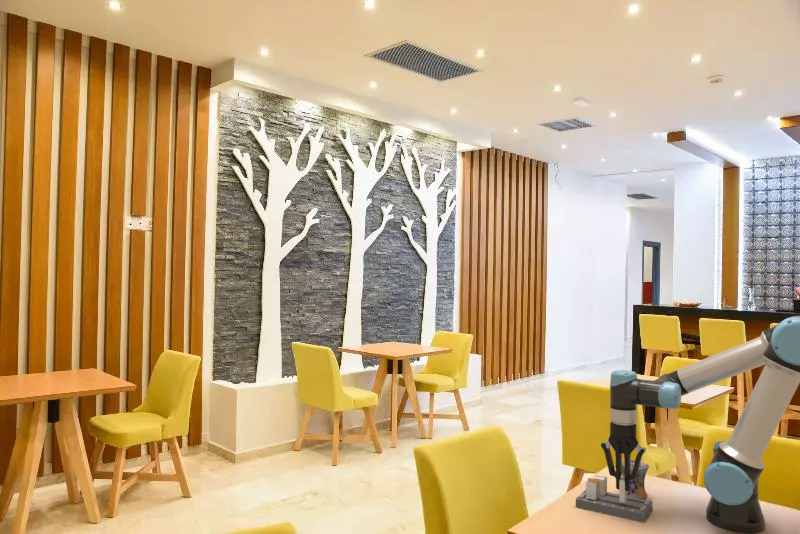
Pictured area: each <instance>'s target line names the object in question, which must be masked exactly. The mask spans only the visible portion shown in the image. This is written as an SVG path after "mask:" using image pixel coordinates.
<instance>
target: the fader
mask: <svg viewBox="0 0 800 534" xmlns="http://www.w3.org/2000/svg"><path fill="white" fill-rule="evenodd" d="M585 483H586V485H585V486H586V487H585V489H586V498H587V499H592V500H597V499H598V497H599V493H600V480H596V479H594V478H590V477H588V478H587V481H586V482H585Z"/></svg>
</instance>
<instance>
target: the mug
mask: <svg viewBox="0 0 800 534" xmlns="http://www.w3.org/2000/svg"><path fill="white" fill-rule="evenodd" d="M634 463H635V459H631V474H632V471H633V467H634ZM649 468H650V465H649V464H648V463H646V462H644V461H641V462H640V466H639V470H638V473H637V477H636V478H635V479H634V480H630V490H629V491H627V496H629V497H634V498H639V499H643V500H646V499H647V497H648V494H647V492H646V488H645V480H646V479H645V478H646V474H647V472H648V470H649ZM621 478H625V459H622V476H621Z"/></svg>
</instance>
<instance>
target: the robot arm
mask: <svg viewBox="0 0 800 534" xmlns="http://www.w3.org/2000/svg"><path fill="white" fill-rule="evenodd" d="M762 366H764V367H763V369H762V371H761V373H760V376H759V378H758V380H757V382H756V384H754V388H753V389H752V392H751V394H750V396H749V398H748V399H747V402H746V404H745V406H744V408H743V410H742V412H741V413H740V416H739V418H738V420H737V423H736V424H735V425H734V428H733V430H732V432H731V434H730V436H729V438H728V440H727V441H726V440H718V441H715V442H714V443H713V448H712V451H713V457H712V458H711V461H710V462H709V465H708V466H707V467H706V468H705V470H704V473H703V482H704V487H705V489H706V490H707V492H708V493H709V495H710V498H709V501H708V504H707V506H706V510H705V518H706V520H707V521H708V522H709V523H711V524H713V525H715V526H717V527H720V528H721V529H726V530H727V531H732V532H739V533H751V534H752V533H760V532H763V531H764V530H765V529H766V520H765V517H764V514H763V510H762V506H761V504H760V501H759V479H760V476H761V475H762V472H763V471H764V469H765V464H764V461H763V459H762V458H763V456H764V454H765V451H766V450H767V448H768V446H769V444H770V442H771V440H772V438H773V436H774V433H775V432H776V430H777V428H778V426H779V425H780V422H781V420H782V419H783V416H784V414H785V412H786V410H787V408H788V407H789V404H790V403H791V401H792V398H793V397H794V394H795V393H796V392H797V391H796V390H797V389H798V386H799V385H800V314H799V315H792V316H788V317H786V318H785V319H783V320H782V321H781V322H779V323H777V324H776V325H774V326H772V327H770V328H767V329H765V330H763V331H762V332H761V334H760V336H757V337H756V338H755V337H754V338H753V339H751V340H748V341H746V342H743V343H740V344H738V345H736V346H733V347H731V348H728V349H725V350H723V351H720V352H719V353H715V354H714V355H711V356H708V357H706V358H703V359H701V360H698V361H696V362H693V363H691V364H689V365H686V366H683V367H681V368H678V369H677V370H674V371H672V372H669V373H664V374H663V375H661V376H659V377H657V379H654V380H649V379H643V378H642V379H640V378H638V376H637V373H636V372H635V371H633V370H624V369H617V370H613V371H612V372H611V374H610V383H609V392H610V393H609V395H610V397H609V400H610V401H609V403H610V406H609V420H610V422H609V437H608V439H607V440H605V441H603V442H602V443H600V447H601V448H602V450H603V451H604V455H605V461H606V464H607V468H608V473H609V475H610V476H611V477H613V478H614V479H615V487H616V488H615V489H616V490H619V493H618V494H619V502H624V503H625V501H626V500H627V491H629V490H630V480H634V479H635V478H636V477H637V473H638V470H639V466H640V462H642V457H643V455H644V454H645V452H646V451H647V448H646V447H644V446H642V445H640V444H639V441H638V438H637V426H638V425H637V419H638V418H637V415H638V414H637V412H638V411H637V410H638V409H637V407H638V406H637V405H639V406H646V407H647V406H648V407H654V408H655V407H656V408H662V409H674V410H676V409H679V408H680V405H681V401H682V397H683V396H686V395H688V394H690V393H692V392H696V391H698V390H701V389H704V388H706V387H709V386H711V385H713V384H717V383H719V382H722V381H725V380H727V379H729V378H733V377H735V376H737V375H738V376H739V375H741V374H744V373H746V372H749V371H751V370H754V369H756V368H759V367H762ZM611 447H612V449H613V451H614V452H615V453H614V454H615V455H614V457H615V464H614V459H613V455H612V452H611V451H612V450H611ZM635 449H636V453H637V454H636V457H635V459H634V460H635V463H634V467H633V471H632V474H631V460H632V459H631V457H632V453H633V451H635ZM623 455H624V456H623ZM622 457H623V458H624V460H625V478H622V460H623V459H622Z"/></svg>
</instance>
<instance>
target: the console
mask: <svg viewBox="0 0 800 534" xmlns="http://www.w3.org/2000/svg"><path fill="white" fill-rule="evenodd" d="M593 479H596V480H600V493H599V497H598V499H597V500H592V499H587V498H586V488H585V489H584V490H583V492H581V493H580V494H579V495H578V496H577V498H575V508H577V509H582V510H587V511H591V512H595V513H600V514H605V515H609V516H612V517H618V518H622V519H626V520H630V521H635V522H640V523H645V522H646V521H647V519H648V518H649V515H650V514H651V512H652V511H653V500H651V499H647V498H645V499H639V498H634V497H629V496H627V500H626V501H625V503H624V502H619V493H615V492H609V491H608V476H606V475H601V474H595V477H594V478H593Z"/></svg>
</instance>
